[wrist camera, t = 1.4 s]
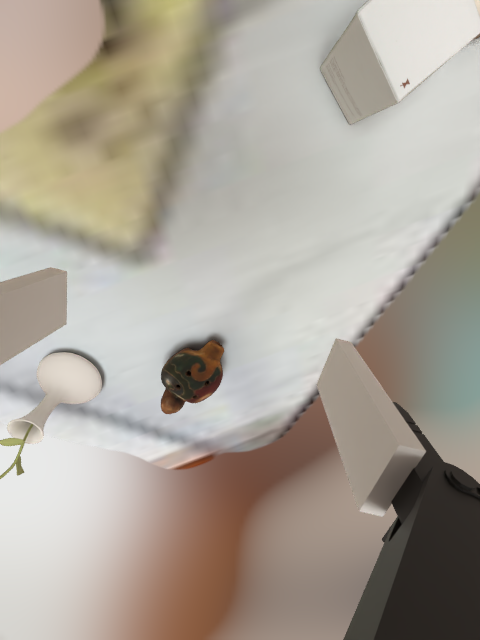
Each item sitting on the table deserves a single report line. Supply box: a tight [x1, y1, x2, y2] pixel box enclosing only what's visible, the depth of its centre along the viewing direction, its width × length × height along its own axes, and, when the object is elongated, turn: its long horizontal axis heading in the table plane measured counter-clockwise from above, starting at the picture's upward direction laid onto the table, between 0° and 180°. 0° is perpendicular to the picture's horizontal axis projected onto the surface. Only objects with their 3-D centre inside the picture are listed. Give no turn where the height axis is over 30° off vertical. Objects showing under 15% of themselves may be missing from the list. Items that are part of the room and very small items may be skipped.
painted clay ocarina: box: [161, 340, 224, 414], centre depth 49 cm, size 10×15×8 cm, turn 146°
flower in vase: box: [0, 352, 102, 479], centre depth 43 cm, size 13×11×25 cm
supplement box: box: [320, 0, 480, 125], centre depth 27 cm, size 7×7×13 cm
